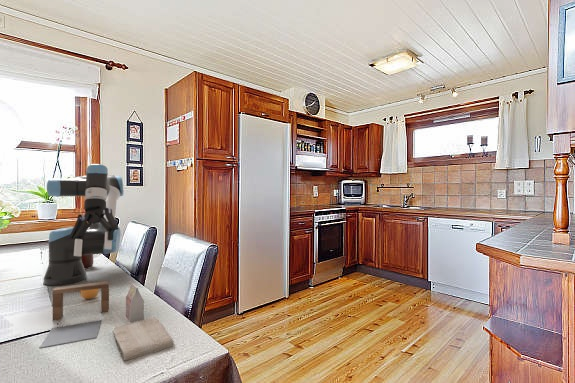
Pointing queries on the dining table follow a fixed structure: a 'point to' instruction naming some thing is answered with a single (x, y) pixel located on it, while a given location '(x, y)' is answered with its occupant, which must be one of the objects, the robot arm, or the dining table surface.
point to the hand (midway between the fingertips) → (92, 252)
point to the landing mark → (71, 333)
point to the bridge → (60, 290)
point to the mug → (87, 260)
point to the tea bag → (134, 305)
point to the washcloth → (141, 338)
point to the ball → (89, 293)
